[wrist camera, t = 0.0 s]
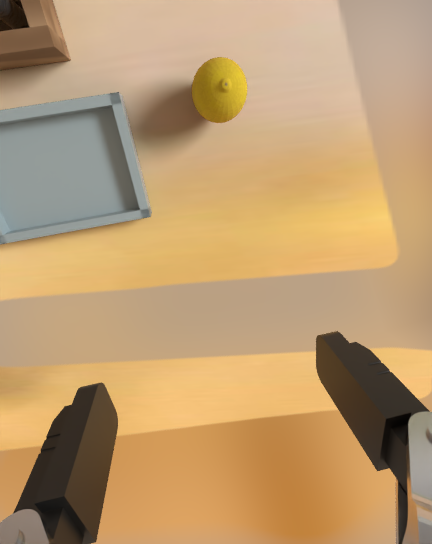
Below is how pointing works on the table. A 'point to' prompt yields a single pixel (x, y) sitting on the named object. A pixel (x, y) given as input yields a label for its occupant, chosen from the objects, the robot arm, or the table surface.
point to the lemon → (219, 90)
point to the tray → (68, 168)
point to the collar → (34, 38)
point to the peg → (12, 14)
